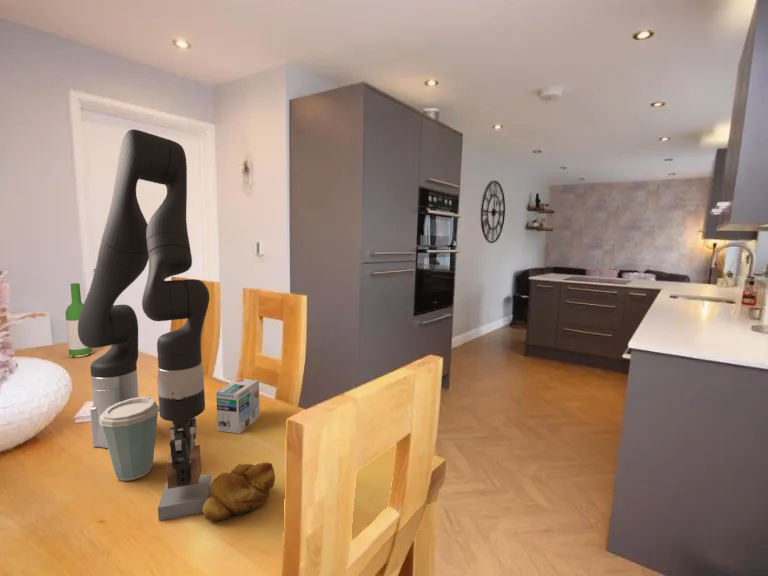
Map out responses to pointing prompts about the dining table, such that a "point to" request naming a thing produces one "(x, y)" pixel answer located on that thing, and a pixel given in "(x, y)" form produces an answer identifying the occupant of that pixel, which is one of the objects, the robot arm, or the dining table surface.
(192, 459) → the walnut cube
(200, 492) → the slate coaster
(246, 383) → the light bulb box
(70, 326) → the wine bottle
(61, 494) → the dining table surface
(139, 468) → the disposable coffee cup
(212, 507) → the bread roll
